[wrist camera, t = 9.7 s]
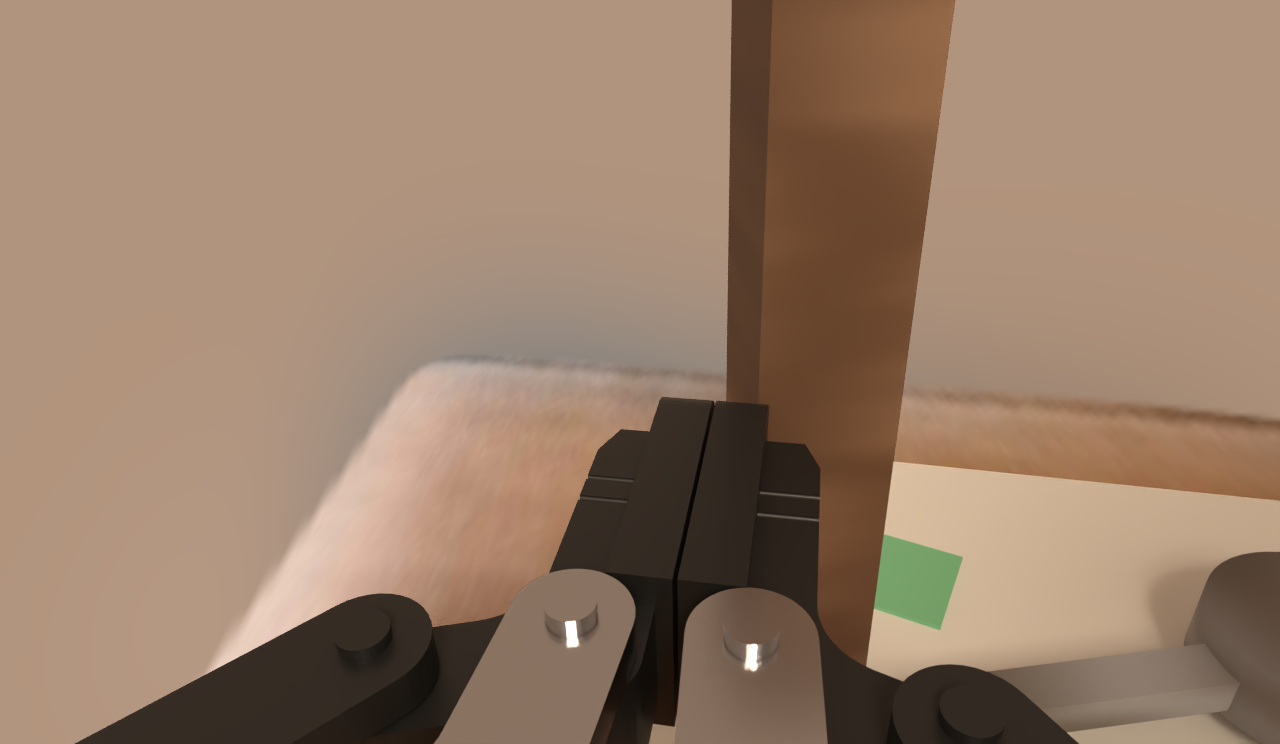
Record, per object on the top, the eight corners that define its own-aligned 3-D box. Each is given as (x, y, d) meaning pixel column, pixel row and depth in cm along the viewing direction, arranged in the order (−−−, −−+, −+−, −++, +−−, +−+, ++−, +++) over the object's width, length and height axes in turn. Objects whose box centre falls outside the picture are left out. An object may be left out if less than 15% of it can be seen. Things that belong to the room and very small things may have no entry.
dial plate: (1385, 556, 24) (1409, 510, 23) (2014, 1456, 11) (2124, 1422, 10) (663, 476, 28) (662, 435, 27) (470, 1048, 15) (457, 1002, 14)
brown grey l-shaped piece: (1319, 597, 20) (1730, -251, 12) (1501, 766, 17) (2275, -296, 8) (665, 680, 19) (634, -207, 11) (702, 884, 15) (697, -236, 7)
